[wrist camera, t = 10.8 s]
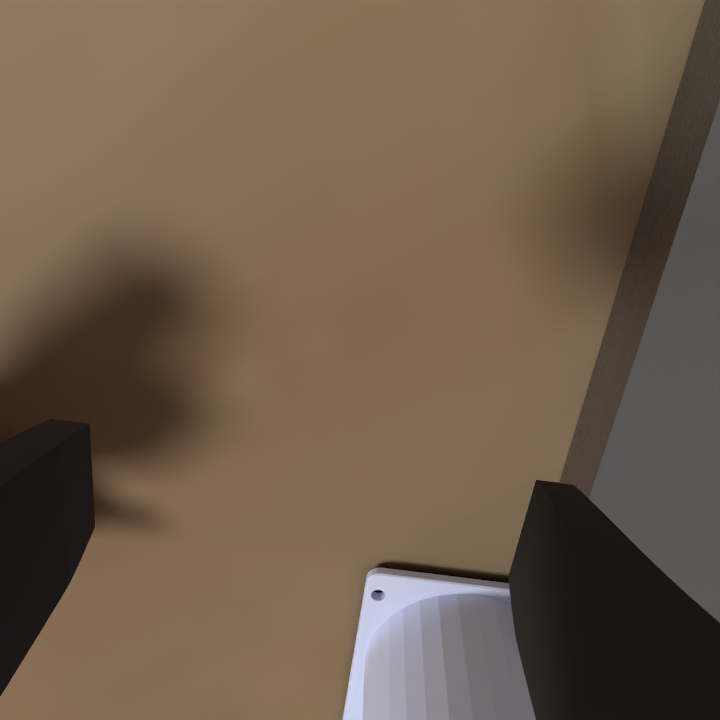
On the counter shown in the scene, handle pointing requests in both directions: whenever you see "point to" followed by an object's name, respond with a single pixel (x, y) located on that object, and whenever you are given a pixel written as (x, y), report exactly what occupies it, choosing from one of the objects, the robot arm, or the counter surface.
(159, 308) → the counter surface
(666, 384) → the keyhole plate
